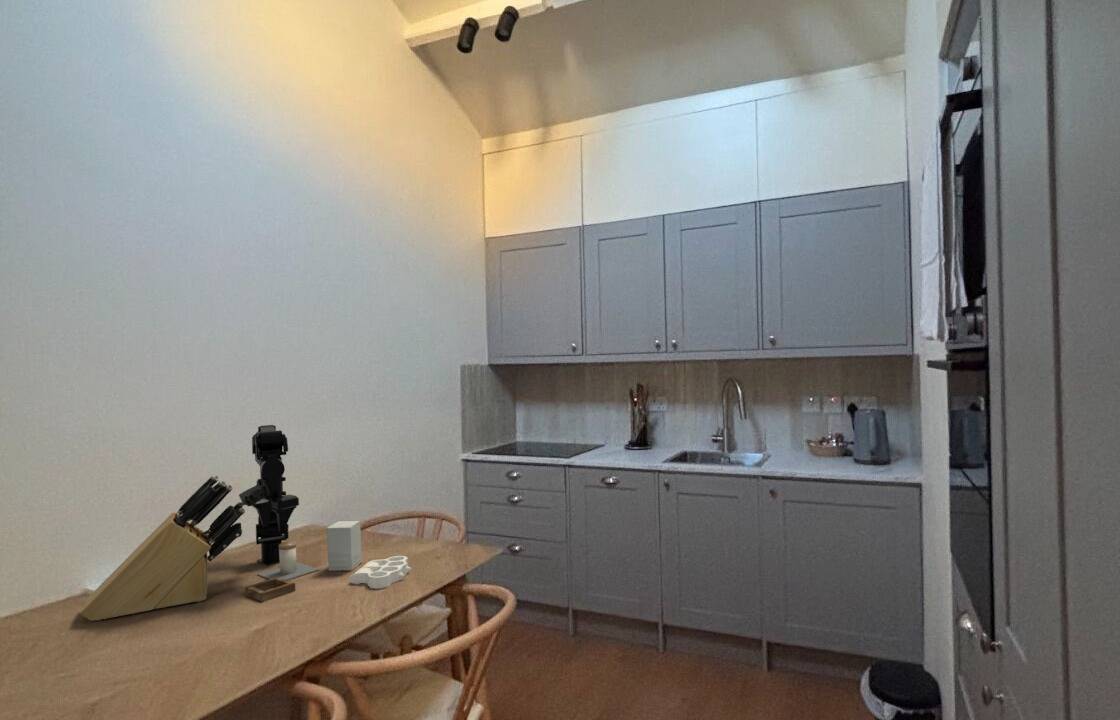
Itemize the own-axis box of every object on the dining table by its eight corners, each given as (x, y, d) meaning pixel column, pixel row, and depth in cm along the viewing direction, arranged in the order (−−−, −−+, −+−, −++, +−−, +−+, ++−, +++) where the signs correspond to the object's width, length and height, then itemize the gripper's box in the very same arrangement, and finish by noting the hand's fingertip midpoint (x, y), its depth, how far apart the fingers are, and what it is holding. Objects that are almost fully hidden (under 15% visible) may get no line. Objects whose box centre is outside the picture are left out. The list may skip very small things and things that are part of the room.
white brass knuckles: (371, 567, 180) (419, 567, 178) (343, 590, 162) (396, 590, 161) (371, 555, 180) (419, 555, 178) (343, 577, 162) (396, 577, 161)
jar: (276, 572, 176) (275, 544, 176) (291, 567, 179) (290, 540, 180) (284, 575, 173) (283, 547, 173) (300, 570, 177) (299, 542, 177)
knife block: (248, 593, 161) (244, 476, 161) (79, 626, 143) (75, 494, 143) (246, 581, 170) (242, 470, 170) (88, 610, 153) (84, 486, 153)
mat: (257, 575, 175) (257, 574, 175) (296, 563, 185) (296, 562, 185) (279, 583, 168) (279, 581, 168) (319, 570, 177) (319, 569, 177)
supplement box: (362, 562, 183) (361, 520, 183) (351, 571, 176) (350, 527, 176) (339, 562, 184) (337, 520, 184) (327, 571, 176) (325, 527, 176)
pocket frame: (245, 594, 160) (245, 587, 160) (278, 584, 167) (277, 576, 167) (262, 601, 155) (262, 593, 155) (295, 590, 162) (295, 583, 162)
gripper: (227, 476, 174) (228, 531, 174) (259, 482, 163) (261, 541, 163) (265, 470, 183) (267, 522, 183) (299, 475, 172) (301, 531, 172)
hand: (273, 529), depth 175 cm, fingers open, 9 cm apart
